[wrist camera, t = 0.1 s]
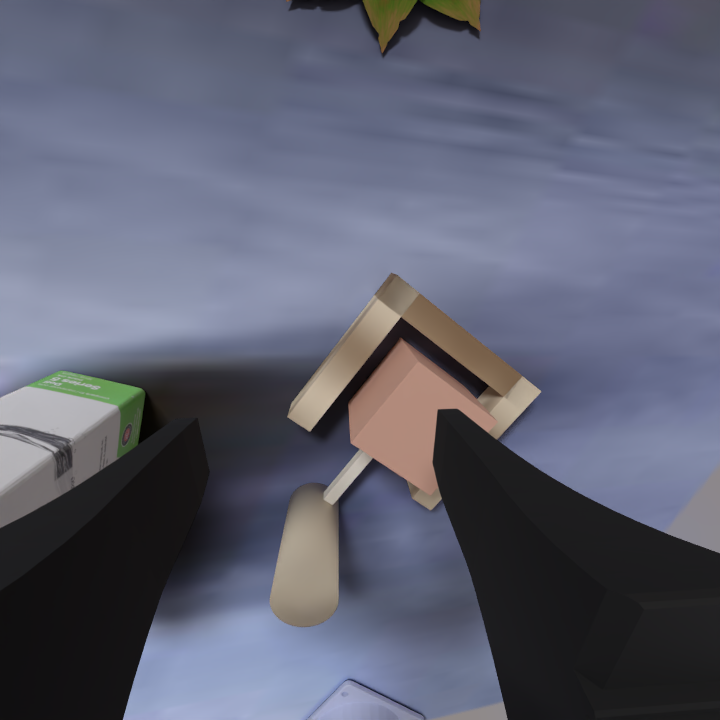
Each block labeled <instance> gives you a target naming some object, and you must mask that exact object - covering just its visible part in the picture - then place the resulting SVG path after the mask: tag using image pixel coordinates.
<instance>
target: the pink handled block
mask: <svg viewBox="0 0 720 720" xmlns="http://www.w3.org/2000/svg"><path fill="white" fill-rule="evenodd" d="M348 406H349V423H350V439H351V444H353V445H354V446H356V447H357V448H359V449H360V450H359V451H358V452H357V453H356V454H355V456H354V457H353V458H352V459H351V460H350V462H349V463H348V464H347V465H346V466H345V468H344V469H343V470H342V471H341V472H340V473H339V475H338V476H337V477H336V478H335V479H334V481H333V482H332V483H331V484H330V485H329V487H328V486H326V485H324V484H320V483H309V484H305V485H302V486H300V487H299V488H297V489H296V490H295V491H294V492H293V494H292V495H291V498H290V501H289V506H288V511H287V516H286V521H285V526H284V531H283V536H282V541H281V546H280V551H279V556H278V561H277V566H276V571H275V576H274V581H273V585H272V590H271V595H270V606H271V609H272V611H273V613H274V614H275V615H276V616H277V617H278V618H279V619H280V620H281V621H283V622H285V623H287V624H289V625H292V626H297V627H310V626H315V625H318V624H320V623H323V622H324V621H326V620H327V619H329V618H330V617H331V616H332V615H333V614H334V612H335V611H336V609H337V606H338V600H339V501H338V498H339V497H340V496H341V495H342V494H343V493H344V491H345V490H346V489H347V488H348V487H349V485H350V484H351V483H352V482H353V481H354V480H355V478H356V477H357V476H358V475H359V474H360V473H361V471H362V470H363V469H364V468H365V467H366V466H367V464H368V463H369V462H370V461H371V460H372V458H374V459H376V460H377V461H379V462H380V463H382V464H383V465H385V466H386V467H388V468H389V469H391V470H392V471H394V472H395V473H397V474H398V475H400V476H401V477H403V478H404V479H406V480H407V481H409V482H410V483H412V484H413V485H415V486H416V487H418V488H419V489H421V490H422V491H424V492H425V493H427V494H428V495H430V496H431V495H432V494H433V492H434V491H435V490H436V489H437V488H438V484H437V480H436V476H435V471H434V467H433V463H432V461H433V451H434V441H435V431H436V421H437V411H438V409H459V410H460V411H461V412H463V413H464V414H465V415H467V416H468V417H469V418H470V419H471V420H473V421H474V422H475V423H476V424H478V425H479V426H480V427H481V428H483V429H484V430H485V431H486V432H489V431H490V430H491V429H492V428H493V427H494V426H495V425H496V424H497V423H498V421H497V420H496V419H495V418H494V417H493V416H492V415H491V414H490V413H489V412H488V411H487V409H486V408H485V407H484V406H483V405H482V404H481V403H480V402H479V401H478V400H477V399H476V398H475V397H474V396H473V395H472V394H471V393H470V392H469V391H468V389H467V388H466V387H465V386H464V385H462V384H461V383H460V382H458V381H457V380H456V379H454V378H453V377H452V376H450V375H449V374H448V373H447V372H445V371H444V370H443V369H441V368H440V367H439V366H437V365H436V364H435V363H433V362H432V361H431V360H430V359H428V358H427V357H426V356H424V355H423V354H422V353H420V352H419V351H418V350H416V349H415V348H414V347H412V346H411V345H410V344H409V343H407V342H406V341H405V340H403V339H402V338H401V337H400V339H399V340H398V341H397V342H396V344H395V345H394V346H393V347H392V349H391V350H390V351H389V352H388V354H387V355H386V356H385V357H384V359H383V360H382V361H381V362H380V364H379V365H378V366H377V367H376V369H375V370H374V371H373V372H372V374H371V375H370V376H369V377H368V378H367V380H366V381H365V382H364V383H363V385H362V386H361V387H360V388H359V390H358V391H357V392H356V393H355V395H354V396H353V397H352V398H351V400H350V401H349V402H348Z"/></svg>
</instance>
